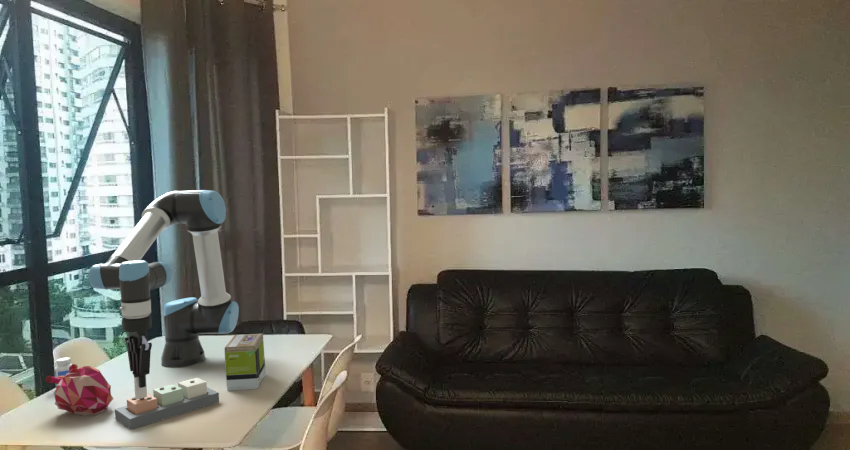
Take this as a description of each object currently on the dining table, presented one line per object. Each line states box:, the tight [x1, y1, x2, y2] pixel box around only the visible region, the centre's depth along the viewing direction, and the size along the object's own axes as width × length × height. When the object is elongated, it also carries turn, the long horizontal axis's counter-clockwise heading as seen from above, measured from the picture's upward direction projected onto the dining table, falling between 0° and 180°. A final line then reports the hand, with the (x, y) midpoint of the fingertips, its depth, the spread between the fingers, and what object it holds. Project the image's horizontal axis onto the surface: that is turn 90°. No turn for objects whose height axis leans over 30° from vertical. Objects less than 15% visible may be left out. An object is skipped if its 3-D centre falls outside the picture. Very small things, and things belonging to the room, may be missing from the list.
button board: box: [114, 386, 220, 430], centre depth 178 cm, size 11×26×3 cm, turn 137°
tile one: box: [177, 377, 208, 399], centre depth 183 cm, size 6×6×4 cm
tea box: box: [224, 333, 267, 392], centre depth 201 cm, size 15×10×15 cm, turn 5°
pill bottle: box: [54, 356, 72, 388], centre depth 199 cm, size 6×5×10 cm
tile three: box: [126, 393, 157, 415], centre depth 172 cm, size 6×6×4 cm
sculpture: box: [45, 363, 114, 416], centre depth 179 cm, size 14×12×20 cm
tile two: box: [152, 383, 183, 407], centre depth 178 cm, size 6×6×4 cm
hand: (141, 397), depth 172 cm, fingers closed
